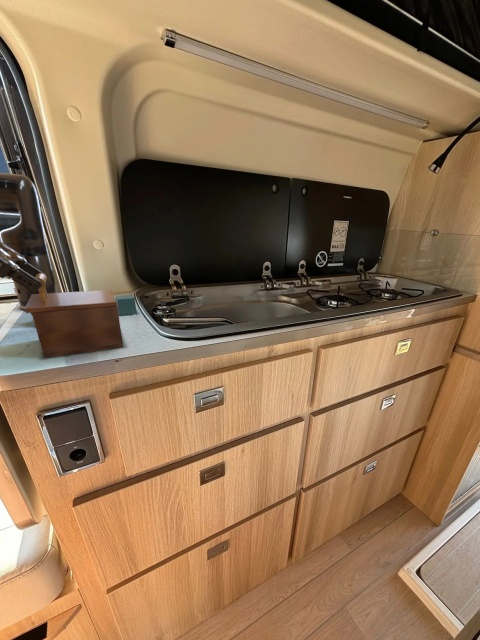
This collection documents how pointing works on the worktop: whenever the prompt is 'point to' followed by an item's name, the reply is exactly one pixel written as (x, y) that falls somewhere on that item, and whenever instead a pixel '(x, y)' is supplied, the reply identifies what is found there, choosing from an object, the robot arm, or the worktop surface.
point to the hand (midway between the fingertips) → (41, 284)
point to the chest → (78, 330)
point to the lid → (67, 299)
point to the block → (126, 304)
